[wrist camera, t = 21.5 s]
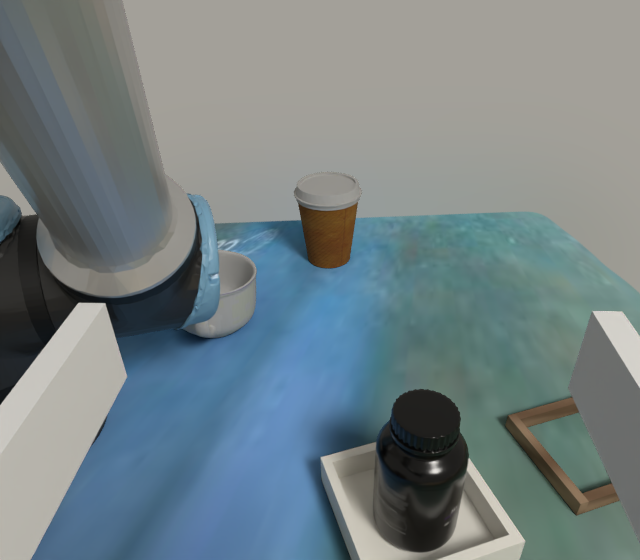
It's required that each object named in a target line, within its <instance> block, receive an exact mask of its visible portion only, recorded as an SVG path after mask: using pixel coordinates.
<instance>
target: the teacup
mask: <svg viewBox="0 0 640 560" xmlns="http://www.w3.org/2000/svg"><path fill="white" fill-rule="evenodd" d="M218 253H219V273H218V275H219V278H220V299H219V306H218V309H217V311H216V313H215V315H214V316H213V317H212V318H211V319H209V320H207V321H205V322H201V323H197V324H192V325H188V326H187V327H186V328H183V329H184V330H186V331H187V332H190V333H192V334H195V335H198V336H200V337H205V338H218V337H223V336H226V335H229V334H231V333H233V332H235V331H237V330H238V329H240V328H241V327H243V326H244V325H245V324H246V323H247V322H248V321H249V320H250V319H251V317H252V315H253V313H254V310H255V304H256V272H257V270H256V266H255V264H254V263H253V262H252V260H250V259H249V258H248V257H246V256H244V255H242V254H239V253H236V252H231V251H223V250H218Z"/></svg>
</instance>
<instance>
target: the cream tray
mask: <svg viewBox="0 0 640 560" xmlns="http://www.w3.org/2000/svg"><path fill="white" fill-rule="evenodd" d="M375 451H376V442H374V443H370V444H367V445H363V446H360V447H356V448H352V449H349V450H345V451H342V452H338V453H334V454H331V455H327V456H323V457H321V480H322V482H323V485H324V488H325V491H326V493H327V496H328V499H329V501H330V504H331V507H332V509H333V512H334V515H335V517H336V520H337V523H338V525H339V528H340V531H341V533H342V536H343V539H344V541H345V544H346V547H347V549H348V552H349V555H350V557H351V560H519V559H520V556H521V553H522V550H523V546H524V543H525V540H524V539H523V537H522V536H521V534H520V533H519V531H518V530H517V528H516V527H515V525H514V524H513V522H512V521H511V519H510V518H509V517H508V515H507V514H506V512H505V511H504V509H503V508H502V506H501V505H500V503H499V502H498V500H497V499H496V497H495V496H494V494H493V493H492V491H491V490H490V488H489V487H488V485H487V484H486V483H485V481H484V480H483V478H482V477H481V475H480V474H479V472H478V471H477V469H476V468H475V466H474V465H473V463H472V462H471V460H470V459H468V467H467V472H466V477H465V483H464V488H463V493H462V498H461V504H460V509H459V514H458V519H457V524H456V527H455V530H454V533H453V535H452V537H451V538H450V539H449V540H448V542H447V543H446V544H444V545H443V546H442V547H440V548H438V549H436V550H433V551H430V552H424V553H415V552H409V551H406V550H403V549H400V548H398V547H396V546H395V545H393V544H392V543H390V542H389V541H388V540H387V539H386V538H385V537H384V536H383V535H382V534H381V532H380V531H379V529H378V527H377V525H376V523H375V520H374V516H373V489H374V470H375Z"/></svg>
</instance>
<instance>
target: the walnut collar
mask: <svg viewBox="0 0 640 560" xmlns="http://www.w3.org/2000/svg"><path fill="white" fill-rule="evenodd" d="M578 412H579V411H578V408H577V406H576V404H575V402H574V400H573V398H568V399H564V400H561V401H557V402H554V403H550V404H547V405H543V406H540V407H536V408H532V409H529V410H525V411H522V412H518V413H515V414H511V415H508V417H507V421H506V428H507V429H508V430H509V431H510V433H511V434H512V435H513V436H514V438H515V439H516V440H517V441H518V443H519V444H520V445H521V446H522V448H523V449H524V450H525V451H526V453H527V454H528V455H529V457H530V458H531V459H532V460H533V462H534V463H535V464H536V465H537V467H538V468H539V469H540V470H541V472H542V473H543V474H544V475H545V477H546V478H547V479H548V480H549V482H550V483H551V484H552V485H553V487H554V488H555V489H556V490H557V492H558V493H559V494H560V495H561V497H562V498H563V499H564V500H565V502H566V503H567V504H568V505H569V507H570V508H571V509H572V510H573V512H574V513H575V514H576V515H579V514H582V513H585V512H588V511H591V510H593V509H596V508H599V507H602V506H605V505H608V504H611V503H614V502H617V501H619V497H618V495H617V493H616V491H615V489H614V487H613V484H612V483H611V484H608V485H605V486H602V487H599V488H596V489H594V490H591V491H588V492H585V493H581V491H580V490H579V489H578V488H577V487H576V485H575V484H574V483H573V482H572V481H571V480H570V478H569V477H568V476H567V475H566V474H565V472H564V471H563V470H562V469H561V468H560V466H559V465H558V464H557V463H556V462H555V460H554V459H553V458H552V457H551V456H550V454H549V453H548V452H547V451H546V450H545V449H544V447H543V446H542V445H541V444H540V443H539V441H538V440H537V439H536V438H535V437H534V435H533V434H532V433H531V432H530V431H529V429H528V428H527V427H530V426H533V425H537V424H540V423H544V422H547V421H550V420H554V419H557V418H561V417H564V416H568V415H571V414H575V413H578Z"/></svg>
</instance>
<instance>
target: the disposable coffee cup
mask: <svg viewBox="0 0 640 560" xmlns="http://www.w3.org/2000/svg"><path fill="white" fill-rule="evenodd" d="M361 194H362V190H361V188H360V187H359V183H358V181H357V179H355V178H354V177H353V176H350V175H347V174H344V173H337V172H321V173H315V174H310V175H307V176H305V177H303V178H301V179H300V180H299V181H298V183H297V187H296V189H295V191H294V196H295V198H296V200H297V202H298V204H299V210H300V215H301V221H302V226H303V232H304V238H305V242H306V249H307V253H308V259H309V261H310V262H311V263H312V264H313V265H315V266H318V267H322V268H335V267H340V266H342V265H344V264H346V263H347V262H348V261H349V259H350V253H351V246H352V239H353V232H354V225H355V219H356V211H357V204H358V201H359V198H360V197H361Z"/></svg>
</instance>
